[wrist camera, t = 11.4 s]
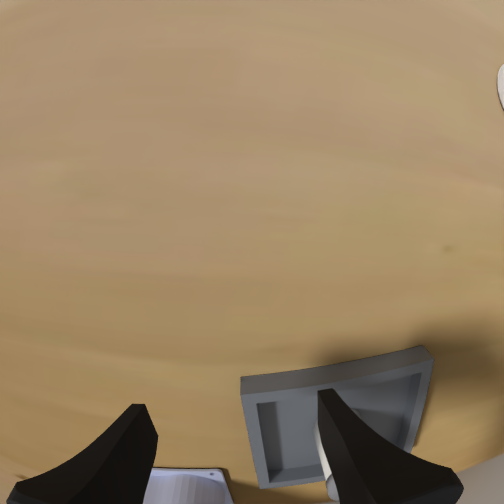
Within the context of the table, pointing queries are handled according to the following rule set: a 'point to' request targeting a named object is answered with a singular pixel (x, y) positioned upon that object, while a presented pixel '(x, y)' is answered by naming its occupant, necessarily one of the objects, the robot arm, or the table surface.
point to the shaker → (326, 469)
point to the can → (501, 85)
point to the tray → (306, 410)
